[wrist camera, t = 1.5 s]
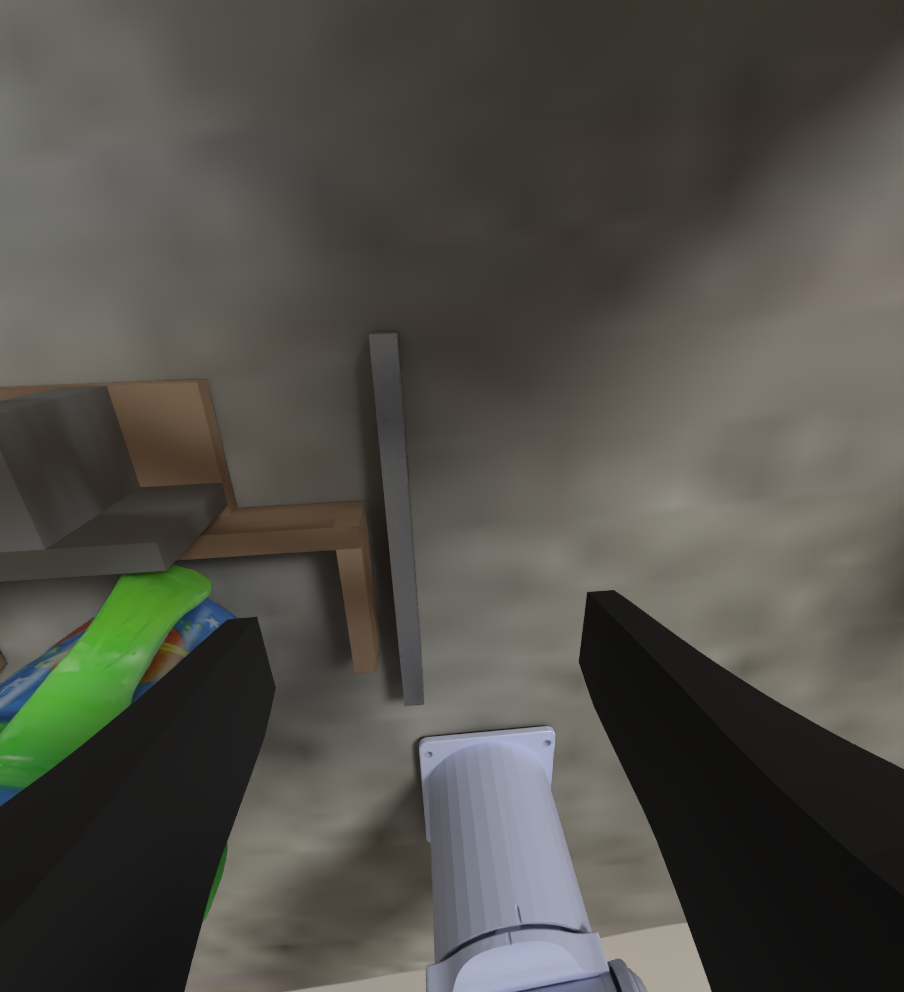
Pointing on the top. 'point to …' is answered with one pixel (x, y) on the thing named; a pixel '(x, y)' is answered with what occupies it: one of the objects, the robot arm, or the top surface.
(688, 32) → the top surface
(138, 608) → the snack cup
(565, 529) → the top surface
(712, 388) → the top surface
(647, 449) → the top surface
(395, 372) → the guide rails
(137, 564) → the pull frame
